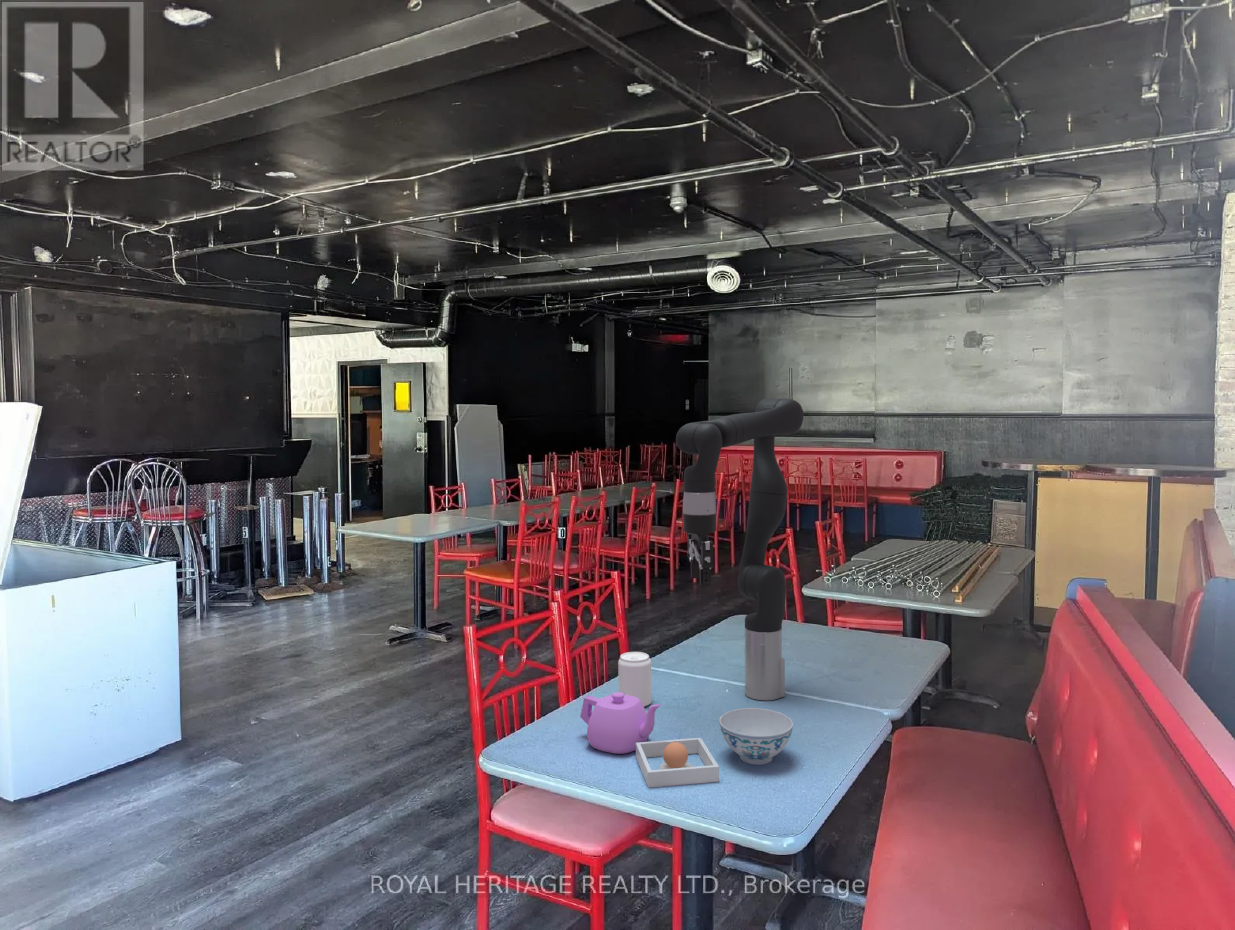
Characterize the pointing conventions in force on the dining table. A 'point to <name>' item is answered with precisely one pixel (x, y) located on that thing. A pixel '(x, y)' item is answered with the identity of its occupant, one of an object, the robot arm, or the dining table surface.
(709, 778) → the grey square frame
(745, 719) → the chinaware
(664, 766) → the disc
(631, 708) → the teapot
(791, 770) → the dining table surface
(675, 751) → the ball
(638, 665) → the beverage can
